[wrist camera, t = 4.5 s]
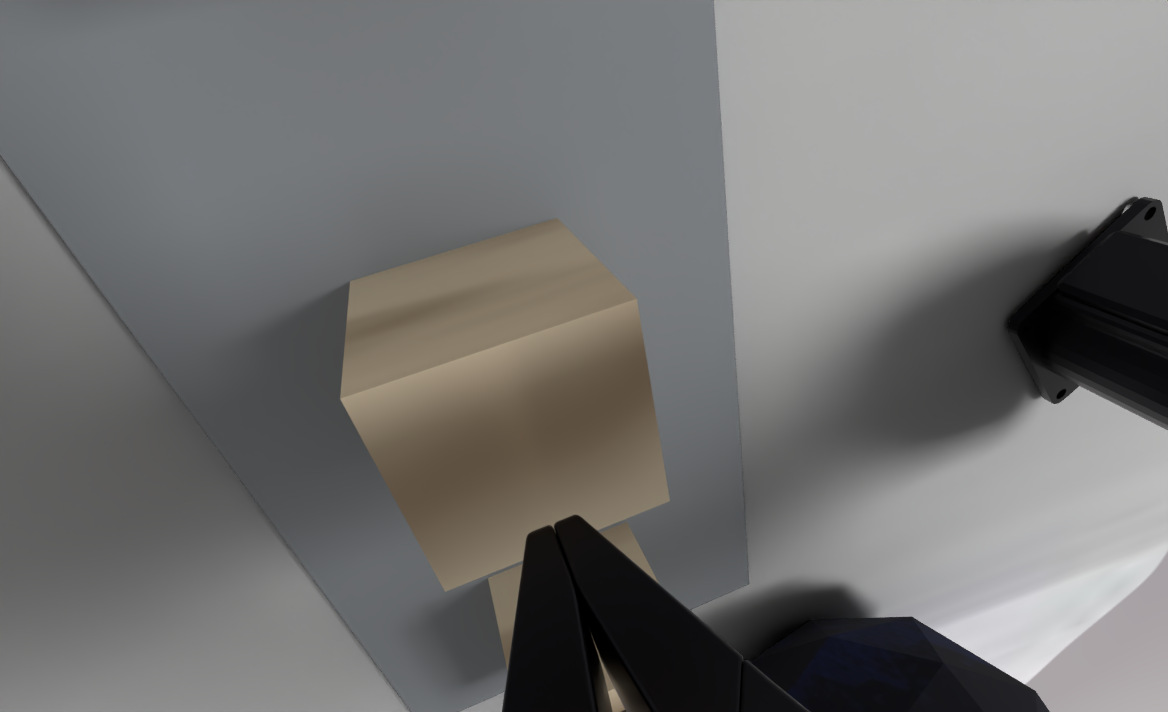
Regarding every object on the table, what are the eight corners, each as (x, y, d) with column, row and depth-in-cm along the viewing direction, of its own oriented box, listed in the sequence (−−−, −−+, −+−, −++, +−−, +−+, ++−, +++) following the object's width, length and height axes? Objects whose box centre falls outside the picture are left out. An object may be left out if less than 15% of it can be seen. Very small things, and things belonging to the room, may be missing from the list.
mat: (741, 572, 24) (749, 583, 24) (421, 712, 22) (422, 727, 22) (649, -707, 8) (667, -755, 8) (-572, -672, 6) (-659, -736, 5)
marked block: (646, 606, 22) (709, 739, 18) (522, 659, 22) (559, 812, 17) (626, 521, 20) (696, 655, 16) (484, 579, 19) (517, 736, 15)
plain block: (595, 382, 16) (669, 501, 12) (425, 443, 16) (445, 591, 12) (557, 218, 14) (636, 298, 10) (349, 281, 13) (339, 398, 9)
